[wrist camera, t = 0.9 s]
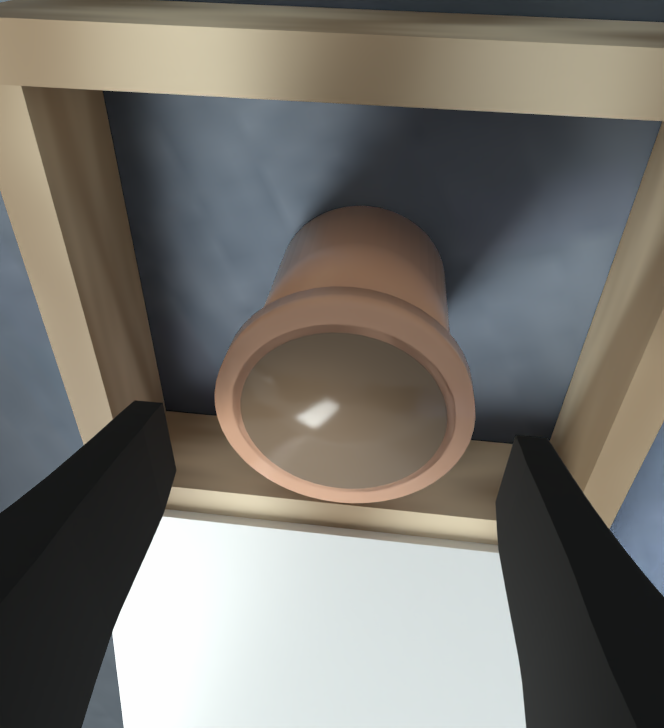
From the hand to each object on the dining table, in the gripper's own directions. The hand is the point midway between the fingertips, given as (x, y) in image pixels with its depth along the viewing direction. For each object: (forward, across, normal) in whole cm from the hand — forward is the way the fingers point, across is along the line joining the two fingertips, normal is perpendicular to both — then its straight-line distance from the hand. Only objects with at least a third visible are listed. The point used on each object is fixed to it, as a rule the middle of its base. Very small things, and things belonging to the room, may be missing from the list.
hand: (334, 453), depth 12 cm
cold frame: (+7, 0, +7) cm, 10 cm away
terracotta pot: (+7, 0, 0) cm, 7 cm away
